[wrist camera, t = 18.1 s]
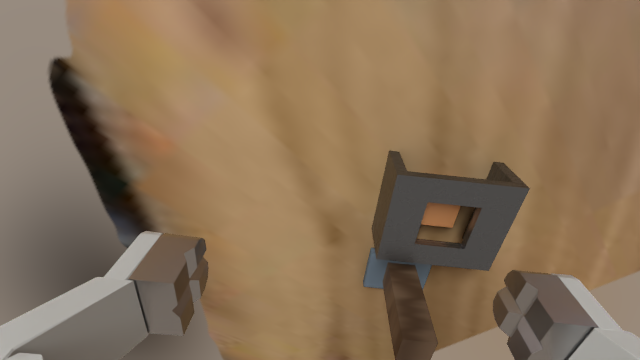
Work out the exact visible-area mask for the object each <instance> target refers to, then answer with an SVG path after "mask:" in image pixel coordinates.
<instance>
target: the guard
mask: <svg viewBox="0 0 640 360" xmlns="http://www.w3.org/2000/svg"><path fill="white" fill-rule="evenodd" d="M529 189H530V188H529V187H528V186H527V185H526V184H525V183H524V182H523V181H522V180H521V179H520V178H519V177H517V176H516V175H515V174H514V173H513V172H512V171H511V170H510V169H509V168H508V167H507V166H506V165H505V164H504V163H500V162H494V163H493V165H492V167H491V170H490V172H489V175H488V177H487V180H485V179H475V178H466V177H456V176H447V175H437V174H428V173H418V172H409V171H407V170H406V168H405V165H404V163H403V160H402V158H401V155H400V153H399V152H396V151H389V154H388V158H387V163H386V167H385V172H384V176H383V181H382V185H381V190H380V194H379V198H378V203H377V207H376V212H375V216H374V221H373V225H372V233H373V240H374V246H375V253H376V259H380V260H390V261H400V262H409V263H419V264H429V265H438V266H448V267H458V268H467V269H477V270H487V271H489V269H490V267H491V265H492V263H493V261H494V259H495V257H496V255H497V253H498V251H499V249H500V247H501V245H502V243H503V241H504V239H505V237H506V235H507V233H508V231H509V229H510V227H511V225H512V223H513V221H514V219H515V217H516V215H517V213H518V211H519V209H520V207H521V205H522V203H523V201H524V199H525V197H526V195H527V193H528V191H529ZM428 202H430V203H439V204H449V205H459V206H468V207H475V209H474V211H473V213H472V216H471V218H470V221H469V223H468V226H467V228H466V230H465V233H464V235H463V241H462V244H461V243H452V242H442V241H432V240H423V239H416V238H417V234H418V231H419V228H420V225H421V222H422V219H423V216H424V213H425V209H426V206H427V203H428Z"/></svg>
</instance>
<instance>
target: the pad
mask: <svg viewBox="0 0 640 360" xmlns="http://www.w3.org/2000/svg"><path fill="white" fill-rule="evenodd" d="M388 262H389V263H399V264H409V265H415V267H416V270H417V273H418V277H419V280H420V283H421V287H422V290H423V288H424V285H425V282H426V280H427V277H428V274H429V271H430V269H431V266H432V265H429V264H419V263H409V262H400V261H390V260H380V259H376V253H375V248H371V250H370V254H369V258H368V263H367V267H366V271H365V276H364V280H363V285H364V287H373V288H382V289H384V288H383V278H384V274H385V271H386V267H387V263H388Z"/></svg>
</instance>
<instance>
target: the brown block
mask: <svg viewBox="0 0 640 360" xmlns="http://www.w3.org/2000/svg"><path fill="white" fill-rule="evenodd" d="M383 288H384V294H385V300H386V306H387V313H388V319H389V325H390V331H391V337H392V343H393V349H394V356H395V360H430V359H431V357H432V354H433V353H434V351H435V348H436V346H437V344H438V341H437V338H436V334H435V331H434V328H433V324H432V321H431V317H430V314H429V311H428V307H427V304H426V300H425V297H424V294H423V290H422V287H421V283H420V280H419V277H418V273H417V270H416V267H415V265H409V264H399V263H389V262H388V263H387V267H386V271H385V274H384V278H383Z"/></svg>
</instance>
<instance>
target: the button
mask: <svg viewBox="0 0 640 360" xmlns="http://www.w3.org/2000/svg"><path fill="white" fill-rule="evenodd" d="M460 207H461V206H459V205H449V204H439V203H430V202H428V203H427V206H426V209H425V213H424V216H423V219H422V222H421V225H431V226H441V227H450V228H452V227H453V225H454V222H455V220H456V217H457V214H458V212H459V209H460Z"/></svg>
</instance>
